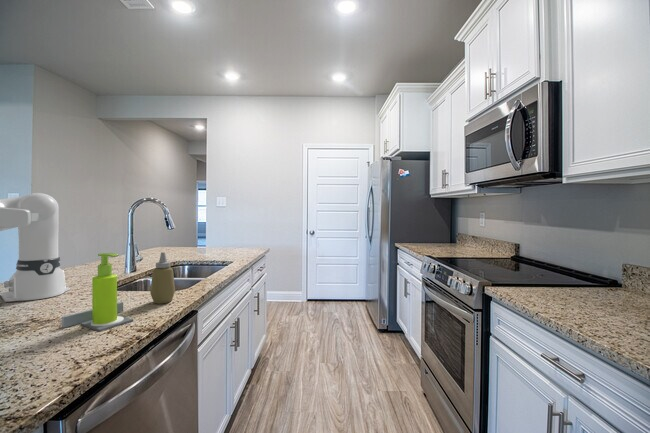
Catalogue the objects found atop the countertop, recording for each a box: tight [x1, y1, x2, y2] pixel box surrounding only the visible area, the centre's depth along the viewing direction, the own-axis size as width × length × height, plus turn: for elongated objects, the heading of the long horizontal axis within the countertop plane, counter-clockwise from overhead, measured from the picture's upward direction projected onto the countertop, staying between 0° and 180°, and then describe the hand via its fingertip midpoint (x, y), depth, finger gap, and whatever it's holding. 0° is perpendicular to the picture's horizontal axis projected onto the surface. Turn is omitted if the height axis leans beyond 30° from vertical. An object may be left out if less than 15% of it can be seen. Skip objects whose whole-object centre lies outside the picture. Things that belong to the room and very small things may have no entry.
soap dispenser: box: [91, 252, 119, 324], centre depth 89 cm, size 6×7×20 cm
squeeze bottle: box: [149, 251, 176, 305], centre depth 110 cm, size 8×8×18 cm
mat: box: [80, 314, 134, 332], centre depth 89 cm, size 10×9×1 cm
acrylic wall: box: [61, 301, 124, 329], centre depth 93 cm, size 1×16×3 cm, turn 153°
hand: (37, 216), depth 81 cm, fingers open, 8 cm apart
